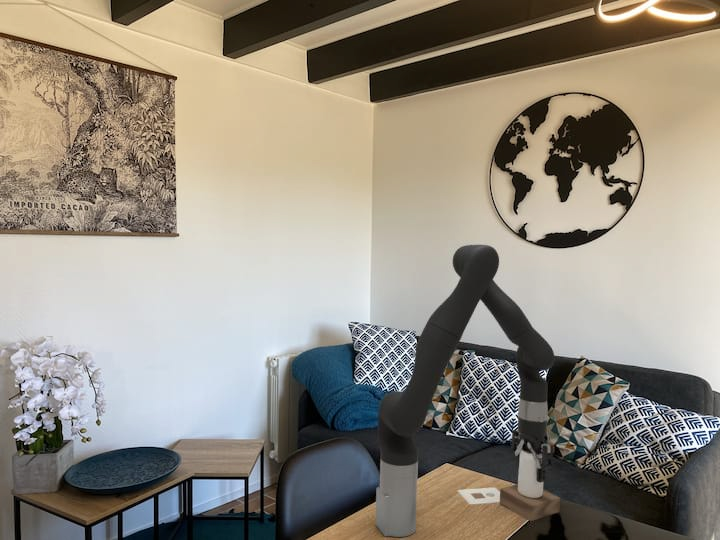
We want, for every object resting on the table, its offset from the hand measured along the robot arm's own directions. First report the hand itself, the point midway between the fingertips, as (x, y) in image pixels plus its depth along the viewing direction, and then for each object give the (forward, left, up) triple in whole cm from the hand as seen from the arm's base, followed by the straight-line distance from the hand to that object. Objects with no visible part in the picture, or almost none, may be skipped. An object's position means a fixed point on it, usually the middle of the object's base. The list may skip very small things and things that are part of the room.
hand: (530, 475), depth 147 cm
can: (0, 0, -5) cm, 5 cm away
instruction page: (-8, +10, -9) cm, 16 cm away
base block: (0, 0, -9) cm, 9 cm away
